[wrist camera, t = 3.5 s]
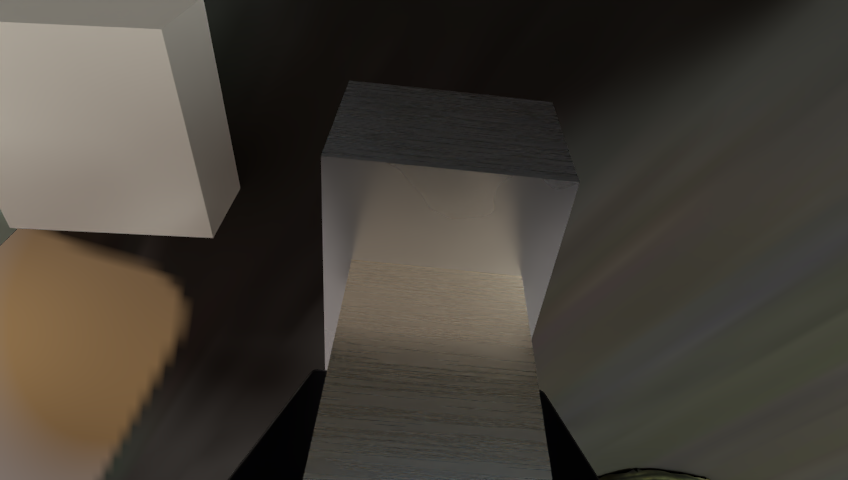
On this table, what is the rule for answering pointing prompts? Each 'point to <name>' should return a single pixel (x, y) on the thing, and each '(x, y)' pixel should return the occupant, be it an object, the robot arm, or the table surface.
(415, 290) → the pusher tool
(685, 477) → the carnation
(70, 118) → the tile
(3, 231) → the bay
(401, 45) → the table surface
